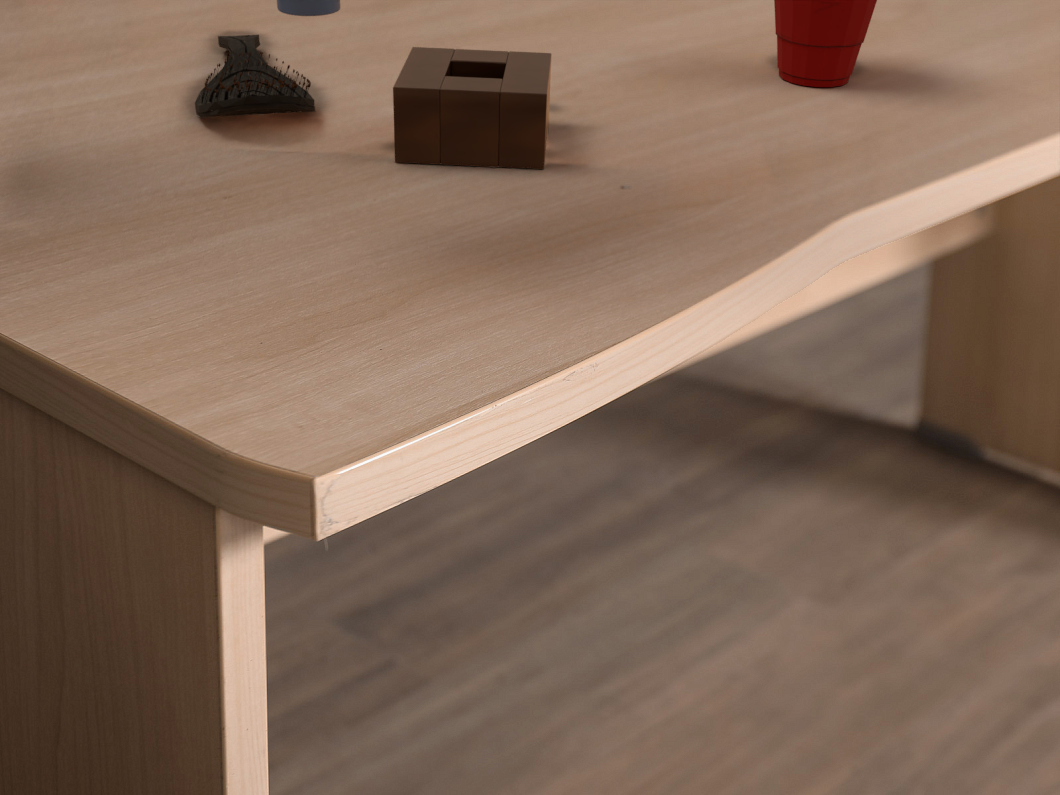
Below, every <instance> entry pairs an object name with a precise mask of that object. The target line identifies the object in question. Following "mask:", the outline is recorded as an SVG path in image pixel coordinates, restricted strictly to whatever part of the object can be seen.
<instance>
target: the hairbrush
mask: <svg viewBox="0 0 1060 795" xmlns="http://www.w3.org/2000/svg"><path fill="white" fill-rule="evenodd" d="M217 44H218V47H219V48H223V49H225V50H228V53H229V55H228V56H227V57H226V60H224V61H223V62H224V64H223V66H222V68H221V63H216V64H217V65H216V68H214V69H213V70H214V71H213V72H210V74H208V75H207V78H206V79H205V82H204V87H203V88H202V89H201V90H200V91H199V94H198V95H197V97H196V99H195V101H194V106H195V107H194V108H195V114H196V115H197V117H199V118H200V119H201V118H203V119H204V118H215V117H216V118H217V117H218V118H219V117H233V116H249V115H250V116H251V115H269V114H270V115H271V114H286V113H313V112H316V106H315V99H314V97H313V96H312V95H311V94H310V93H309V90H310V87H311V84H312V82H311V80H309V78H307V77H306V76H304V74H301V75H300V73H299V71H298V70H295V69H293V70H292V74H295V75H296V76H295V78H294V79H293V78H292V76H290V74H288V73H289V70H290V67H291V65H290V64H288V65H287V68H286V72H284V74H283V73H282V68H283V67H281V68H280V70H278V66H275V65H273V66H271V65H269V63H268V62H269V61H270V60H269V59H270V58H271V54H270V53H269V54H268V58H267V61H266V60H265V59H264V57H263V54H264V53H263V52H262V51H261V52H259V51H258V50H257V48H259V47H260V46H261V41H260V35H259V34H243V35H241V34H240V35H218V36H217ZM278 59H279V58H277V57H276V58H275V62H277V61H278ZM281 62H282V65H283V64H285V61H284V60H283V61H281ZM219 68H221V70H220V71H219ZM295 71H296V72H295ZM216 72H217V73H216ZM287 75H288V76H287ZM299 76H300V77H301V78H300V81H299V82H298V83H297V80H298V77H299ZM302 79H303V81H302ZM301 81H302V83H301ZM301 84H302V85H301ZM300 85H301V86H300ZM304 86H305V88H304Z"/></svg>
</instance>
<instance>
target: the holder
mask: <svg viewBox="0 0 1060 795" xmlns="http://www.w3.org/2000/svg"><path fill="white" fill-rule="evenodd" d="M551 75H552V53H551V52H536V51H535V52H533V51H532V52H531V51H512V50H510V51H508V50H489V49H488V50H487V49H465V48H462V49H461V48H456V49H455V48H446V47H444V48H443V47H426V46H425V47H422V46H412V47H411V50H410V51H409V53H408V56H407V58H406V59H405V61H404V64H403V66H402V67H401V70H400V72H399V75H397V78H396V80H395V83H394V85H393V86H392V102H393V105H392V106H393V144H394V145H393V146H394V149H393V150H394V163H398V164H399V163H400V164H401V163H403V164H404V163H405V164H420V165H421V164H422V165H424V164H425V165H443V166H444V165H445V166H465V167H466V166H467V167H485V168H486V167H487V168H488V167H489V168H510V169H532V170H544V169H545V164H546V154H547V153H546V152H547V145H548V144H547V143H548V133H549V122H550V102H551V98H550V97H551V79H552V78H551V77H552V76H551Z"/></svg>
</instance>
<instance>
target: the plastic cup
mask: <svg viewBox="0 0 1060 795" xmlns="http://www.w3.org/2000/svg"><path fill="white" fill-rule="evenodd" d="M773 2H774V26H775V27H774V29H775V35H776V54H777V55H776V57H777V58H776V60H777V62H776V63H777V69H778V76H779V78H781V79H782V80H783V81H786V82H788V83H791V84H795V85H800V86H804V87H813V88H835V87H840V86H844V85H846V84H848V83H849V80H850V78H851V76H852V75H853V73H854V69H855V66H856V63H857V60H858V56H859V53H860V50H861V47H862V44H864V42H865V40H866V36H867V33H868V31H869V30H868V29H869V26H870V23H871V20H872V17H873V14H874V11H875V8H876V4H877V2H878V0H773Z"/></svg>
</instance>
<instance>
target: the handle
mask: <svg viewBox="0 0 1060 795" xmlns="http://www.w3.org/2000/svg"><path fill="white" fill-rule="evenodd" d="M276 8H277V11H279V12H280V13H282V14H285V15H289V16H294V17H295V16H296V17H322V16H327V15H333V14H335V13H337V12H339V11H340V10H341V0H276Z"/></svg>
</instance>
